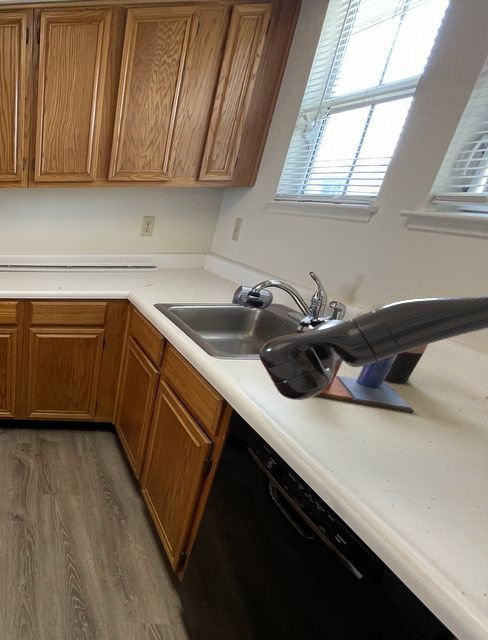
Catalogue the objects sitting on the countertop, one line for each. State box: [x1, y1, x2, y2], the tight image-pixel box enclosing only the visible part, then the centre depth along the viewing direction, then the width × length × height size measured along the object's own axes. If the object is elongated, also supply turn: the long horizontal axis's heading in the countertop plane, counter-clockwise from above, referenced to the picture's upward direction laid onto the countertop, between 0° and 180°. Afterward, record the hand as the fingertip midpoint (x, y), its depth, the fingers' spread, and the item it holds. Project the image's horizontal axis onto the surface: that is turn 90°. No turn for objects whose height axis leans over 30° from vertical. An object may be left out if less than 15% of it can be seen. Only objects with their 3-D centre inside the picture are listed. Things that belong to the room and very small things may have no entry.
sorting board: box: [315, 375, 414, 414], centre depth 103 cm, size 22×14×1 cm, turn 68°
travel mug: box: [384, 344, 429, 385], centre depth 106 cm, size 8×8×20 cm
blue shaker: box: [356, 355, 397, 389], centre depth 102 cm, size 5×5×11 cm
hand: (353, 326), depth 85 cm, fingers open, 8 cm apart
